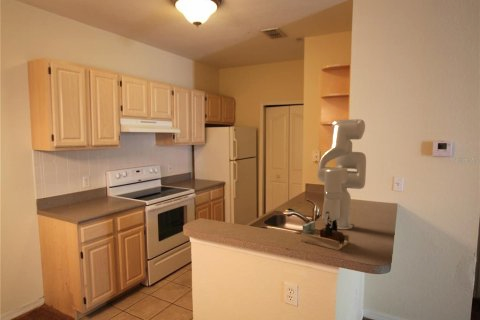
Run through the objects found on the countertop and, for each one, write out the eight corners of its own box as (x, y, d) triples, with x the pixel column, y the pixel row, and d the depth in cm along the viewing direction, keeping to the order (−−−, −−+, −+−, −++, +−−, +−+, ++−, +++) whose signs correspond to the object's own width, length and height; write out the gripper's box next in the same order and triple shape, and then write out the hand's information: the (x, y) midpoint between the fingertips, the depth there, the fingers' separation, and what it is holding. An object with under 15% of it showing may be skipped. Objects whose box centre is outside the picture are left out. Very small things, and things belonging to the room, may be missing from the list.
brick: (319, 238, 138) (319, 229, 138) (323, 237, 141) (324, 227, 141) (340, 244, 131) (340, 234, 131) (344, 242, 134) (345, 232, 133)
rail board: (313, 234, 149) (313, 220, 148) (348, 242, 137) (349, 227, 137) (300, 240, 139) (301, 226, 138) (338, 250, 127) (338, 233, 127)
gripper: (331, 192, 144) (330, 228, 145) (316, 197, 131) (315, 237, 132) (347, 194, 139) (345, 231, 140) (333, 199, 126) (331, 240, 127)
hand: (331, 233), depth 136 cm, fingers open, 5 cm apart
